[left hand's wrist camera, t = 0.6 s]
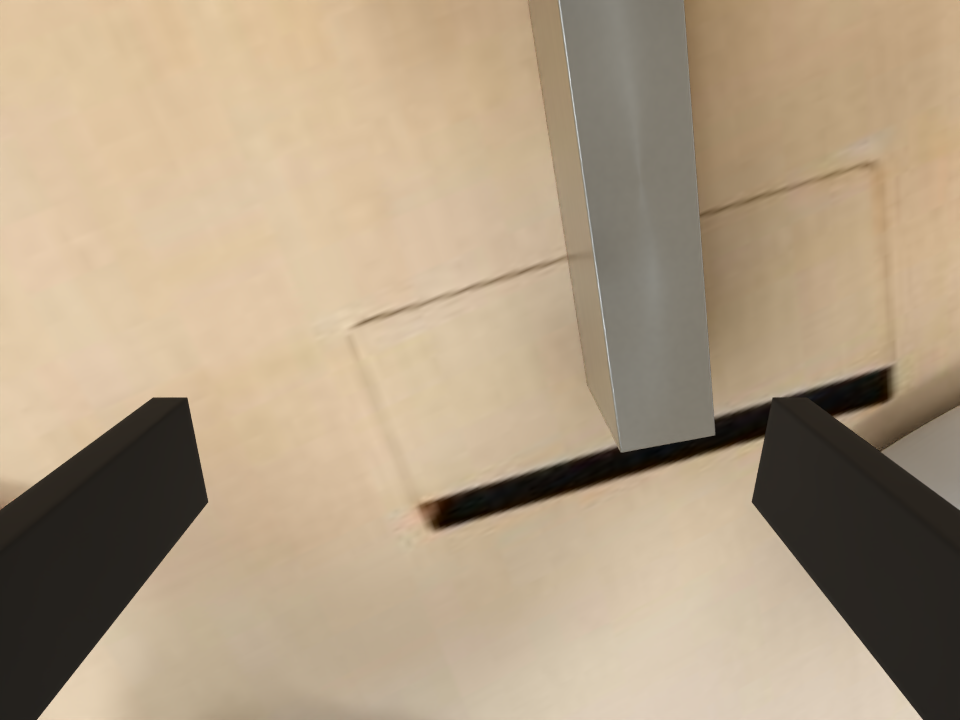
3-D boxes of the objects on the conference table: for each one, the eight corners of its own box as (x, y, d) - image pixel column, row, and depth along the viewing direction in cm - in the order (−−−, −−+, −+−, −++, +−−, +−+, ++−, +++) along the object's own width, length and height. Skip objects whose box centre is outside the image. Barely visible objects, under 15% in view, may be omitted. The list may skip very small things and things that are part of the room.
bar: (660, 371, 35) (716, 435, 27) (587, 386, 35) (620, 453, 27) (609, -107, 27) (668, -226, 19) (514, -83, 27) (531, -191, 19)
